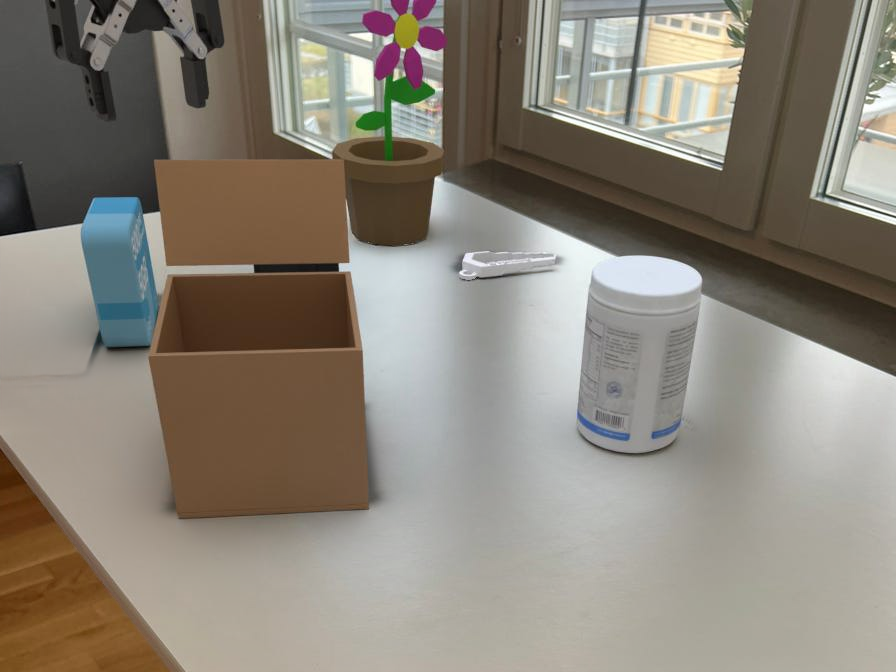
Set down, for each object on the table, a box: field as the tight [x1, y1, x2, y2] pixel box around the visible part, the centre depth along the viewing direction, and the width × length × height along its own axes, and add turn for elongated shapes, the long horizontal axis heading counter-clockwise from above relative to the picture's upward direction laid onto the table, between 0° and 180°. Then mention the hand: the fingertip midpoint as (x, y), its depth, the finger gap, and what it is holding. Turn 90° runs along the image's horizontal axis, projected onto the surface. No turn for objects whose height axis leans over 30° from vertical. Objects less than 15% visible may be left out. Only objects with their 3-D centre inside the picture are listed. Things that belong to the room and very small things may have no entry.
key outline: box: [458, 250, 557, 281], centre depth 123 cm, size 13×5×2 cm, turn 112°
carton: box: [147, 271, 370, 519], centre depth 81 cm, size 15×16×14 cm
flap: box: [153, 159, 351, 267], centre depth 81 cm, size 15×8×1 cm
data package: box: [80, 196, 159, 348], centre depth 102 cm, size 12×4×12 cm, turn 10°
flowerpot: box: [331, 0, 448, 246], centre depth 123 cm, size 14×14×30 cm
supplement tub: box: [576, 255, 703, 454], centre depth 87 cm, size 10×10×15 cm
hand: (152, 113), depth 85 cm, fingers open, 8 cm apart
